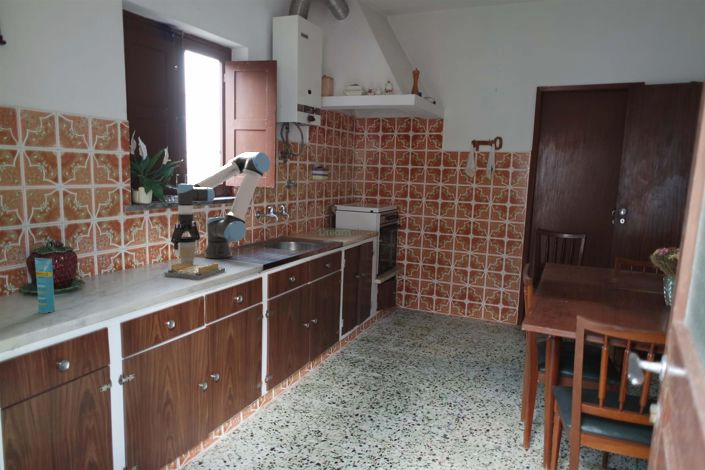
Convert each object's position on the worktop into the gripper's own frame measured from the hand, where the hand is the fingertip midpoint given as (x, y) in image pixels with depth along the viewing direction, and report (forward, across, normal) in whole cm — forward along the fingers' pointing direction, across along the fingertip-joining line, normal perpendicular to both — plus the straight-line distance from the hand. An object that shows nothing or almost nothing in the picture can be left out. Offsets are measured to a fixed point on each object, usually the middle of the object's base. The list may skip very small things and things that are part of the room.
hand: (186, 254), depth 254 cm
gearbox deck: (+6, +14, +17) cm, 23 cm away
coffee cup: (+7, 0, 0) cm, 7 cm away
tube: (+8, +86, +10) cm, 87 cm away
